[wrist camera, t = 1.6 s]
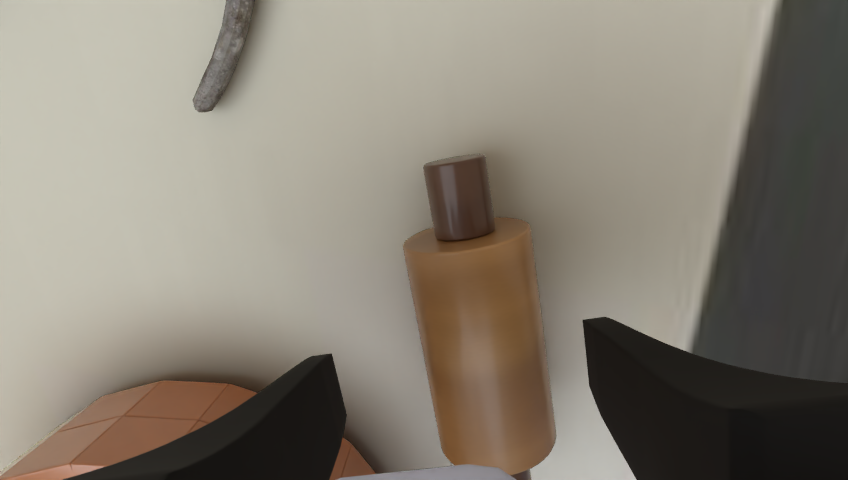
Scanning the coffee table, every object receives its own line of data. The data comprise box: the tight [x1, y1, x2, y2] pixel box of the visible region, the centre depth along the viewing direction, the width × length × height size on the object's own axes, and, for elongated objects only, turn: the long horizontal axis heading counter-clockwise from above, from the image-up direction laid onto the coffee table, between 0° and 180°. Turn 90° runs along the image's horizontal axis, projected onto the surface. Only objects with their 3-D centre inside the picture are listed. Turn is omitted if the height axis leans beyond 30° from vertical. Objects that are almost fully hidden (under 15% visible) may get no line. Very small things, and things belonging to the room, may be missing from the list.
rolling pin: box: [403, 154, 556, 480], centre depth 15 cm, size 11×4×4 cm, turn 10°
